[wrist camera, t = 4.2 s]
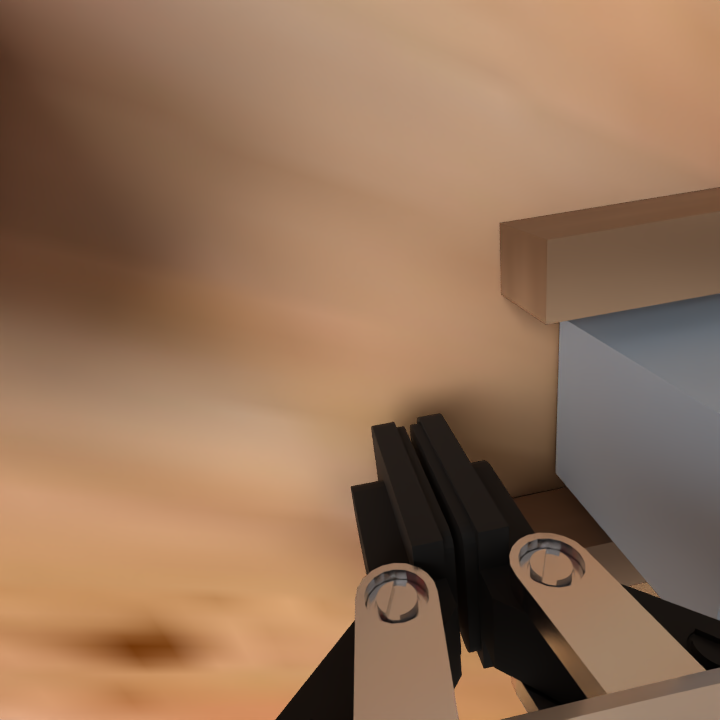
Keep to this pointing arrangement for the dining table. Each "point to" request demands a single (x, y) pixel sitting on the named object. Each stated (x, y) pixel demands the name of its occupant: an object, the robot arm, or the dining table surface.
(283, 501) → the dining table surface
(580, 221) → the beam slot
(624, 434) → the block
